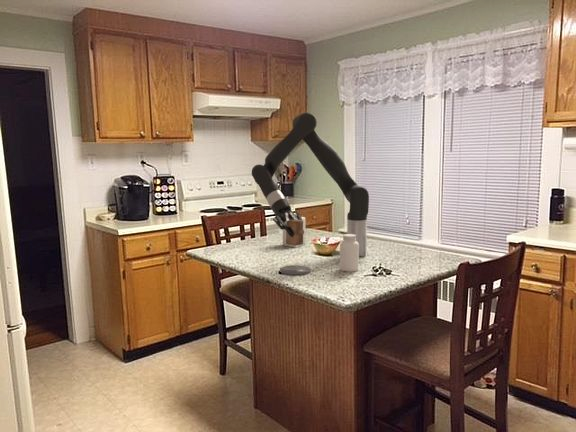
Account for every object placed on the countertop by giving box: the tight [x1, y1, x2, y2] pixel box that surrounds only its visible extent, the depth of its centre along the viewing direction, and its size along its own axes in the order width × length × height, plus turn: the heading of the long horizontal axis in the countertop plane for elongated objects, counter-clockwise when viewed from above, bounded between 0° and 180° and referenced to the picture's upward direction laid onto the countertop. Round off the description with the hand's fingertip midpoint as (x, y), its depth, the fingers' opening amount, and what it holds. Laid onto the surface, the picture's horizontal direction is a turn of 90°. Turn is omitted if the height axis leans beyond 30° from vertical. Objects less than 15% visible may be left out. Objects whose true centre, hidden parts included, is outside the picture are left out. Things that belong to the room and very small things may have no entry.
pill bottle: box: [339, 233, 360, 273], centre depth 202 cm, size 8×8×15 cm
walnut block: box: [286, 219, 303, 246], centre depth 199 cm, size 5×5×10 cm
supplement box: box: [282, 216, 306, 248], centre depth 253 cm, size 9×9×15 cm
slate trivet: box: [279, 264, 312, 276], centre depth 201 cm, size 13×13×1 cm
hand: (297, 234), depth 198 cm, fingers closed on walnut block, 5 cm apart
